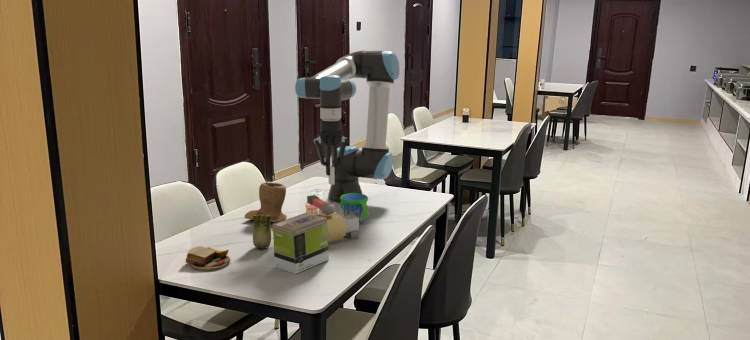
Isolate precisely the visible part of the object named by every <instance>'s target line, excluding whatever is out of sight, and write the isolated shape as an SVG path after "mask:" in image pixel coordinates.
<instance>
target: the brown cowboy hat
mask: <svg viewBox="0 0 750 340" xmlns="http://www.w3.org/2000/svg"><path fill="white" fill-rule="evenodd" d="M286 194H287V187H286V185H284V184H283V183H277V182H267V181H265V182H264V181H263V182H262V183H261V184H260V185H259V188H258V195H259V196H258V198H259V202H260V208H259V209H254V210H253V209H252V210H249V211H247V212H246V213H245V214H244V216H243V217H244V218H245V219H247V220H253V215H260V219H261V215H265V221H266V218H267V215H268V216H270V223H278V222H281V221H283V220H286V219H288V218H287V215H286V214H285V213H283V212H282V207H283V205H284V202H285V199H286ZM257 220H258V218H257ZM253 221H254V220H253Z"/></svg>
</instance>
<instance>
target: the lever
mask: <svg viewBox="0 0 750 340" xmlns="http://www.w3.org/2000/svg"><path fill="white" fill-rule="evenodd" d="M306 201H307V202H306V203H307V204H308V205H311V206H313V207H315V208H316V209H318V210H319V211H321V214H332V213H334V212H335V204H333V203H328V202H327V201H325V200H323V199H321V198H320V197H319V196H318V195H316V194H312V195H307V196H306Z"/></svg>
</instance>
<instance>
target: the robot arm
mask: <svg viewBox="0 0 750 340" xmlns="http://www.w3.org/2000/svg"><path fill="white" fill-rule="evenodd" d="M399 75H400V63H399V59H398V56H397V54H396V53H395V52H394V51H388V50H358V51H357V50H356V51H354V52H351V53H348V54H346V55H344V56H341V57H340V58H338V59H337V60H336V62H335V63H334V64H333V65H330V66H328V67H327V68H325V69H324V70H322V71H320V72H318V73H316V74H315V75H313V76H310V77H300V78H298V79H297V80H296V81H295V85H294V89H295V94H296V96H297V97H298V98H303V99H306V100H307V99H312V100H313V99H314V100H316V99H318V100H319V103H320V104H319V105H320V110H319V112H320V113H319V114H320V115H319V117H320V122H319V123H320V125H319V127H320V133H319V135H318V137H317V138H313V140H312V142H313V143H314V145H315V147H316V149H317V150H316V151H317V154H318V157H319V161H320V162H319V163H320V164H321V165H322V166H323V167H325V174H326V176H327V177H328V184H329V185H330V187H329V191H328V192H327V193H328V195H327V196H328V201H330V202H331V203H338V204H341V201H340V198H341V196H342V195H344V194H349V193H359V194H363V191H362V188H361V185H360V182H359V178H362V179H363V178H364V179H371V180H372V179H374V180H385V179H387V178H388V177H389V176H390V174H391V172H392V169H393V165H394V154H393V153H392V152H390V146H388V144H387V134H388V133H387V132H388V122H389V121H388V119H389V118H388V117H389V106H390V91H391V90H390V89H391V87H392V86H393V85H394V84H395V81H396V80H398V79H399ZM352 79H366V84H367V85H368V86H369V93H368V107H367V122H366V135H365V136H366V137H365V143H364V144H363V145H362V147H361V150H360V148H359V146H357V145H349V146H348V145H347V144H348V143H349V141H350V140H349V138H348V137H345V136H344V135H343V132H342V120H341V119H342V101H346V100H347V101H348V100H349V99H351V98H353V97H354V96H355V95H356V93H357V92H356V91H357V86H356V84H355V82H354V81H353V80H352ZM340 141H341V142H340ZM321 143H323V144H324V147H325V149H324V153H325V154H324V153H323V148H322V145H321ZM339 143H340V147H338V144H339Z"/></svg>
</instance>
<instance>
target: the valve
mask: <svg viewBox="0 0 750 340" xmlns="http://www.w3.org/2000/svg"><path fill="white" fill-rule="evenodd" d="M315 215H316V216H320V217H324V218H327V231H328V245H332V244H336V243H337V244H338V243H342V242H346V240H347V239H346V238H349V239H350V240H355V239H359V230H360V224H359V217H357V216H355V215H353V214H350V215H345V216H344V215H340V214H338V213H336V212H335V211H334V213H332V214H324V213H321V214H315ZM345 236H346V237H345Z"/></svg>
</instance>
